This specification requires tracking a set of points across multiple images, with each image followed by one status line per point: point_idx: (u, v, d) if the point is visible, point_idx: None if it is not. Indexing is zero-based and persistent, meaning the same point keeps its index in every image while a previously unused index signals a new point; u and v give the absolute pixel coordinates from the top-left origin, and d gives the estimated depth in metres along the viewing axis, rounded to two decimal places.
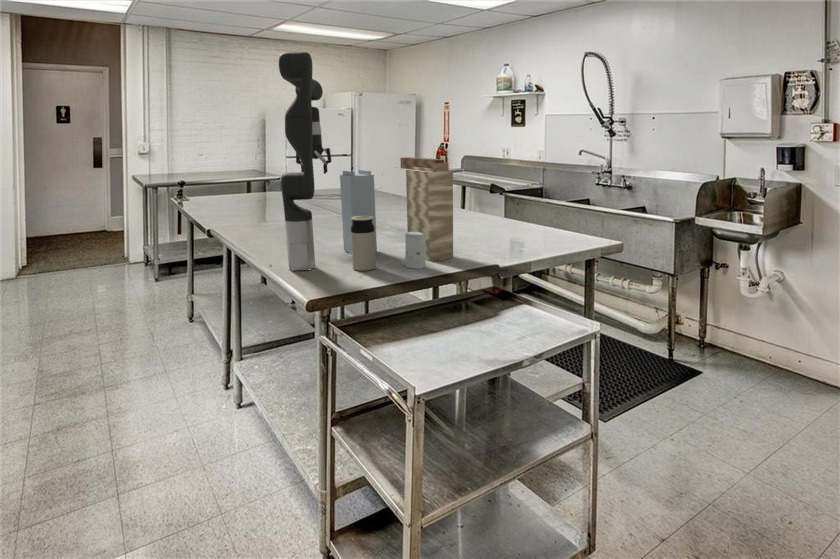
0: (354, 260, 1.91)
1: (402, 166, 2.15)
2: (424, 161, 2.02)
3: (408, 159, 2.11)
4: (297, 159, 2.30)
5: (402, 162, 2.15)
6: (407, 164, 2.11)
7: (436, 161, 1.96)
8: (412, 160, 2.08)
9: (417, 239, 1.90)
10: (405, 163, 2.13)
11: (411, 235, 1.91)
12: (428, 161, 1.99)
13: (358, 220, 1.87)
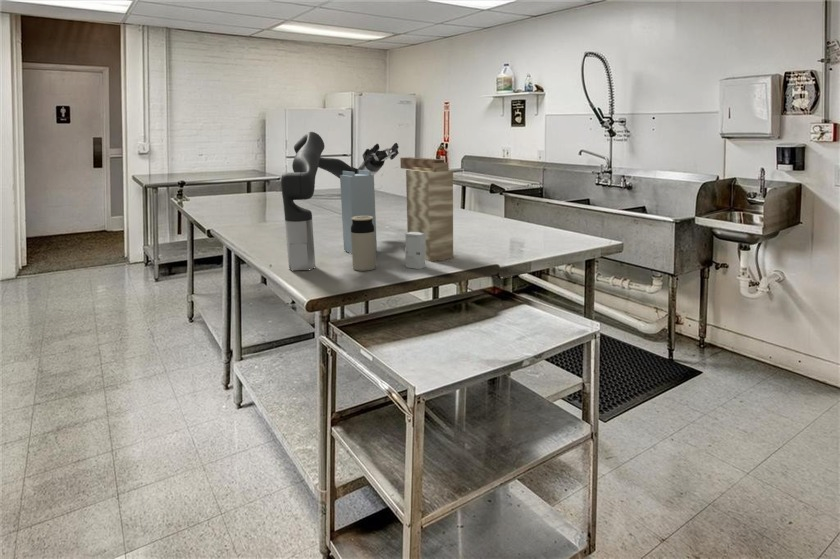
0: (354, 260, 1.91)
1: (402, 166, 2.15)
2: (424, 161, 2.02)
3: (408, 159, 2.11)
4: None
5: (402, 162, 2.15)
6: (407, 164, 2.11)
7: (436, 161, 1.96)
8: (412, 160, 2.08)
9: (417, 239, 1.90)
10: (405, 163, 2.13)
11: (411, 235, 1.91)
12: (428, 161, 1.99)
13: (358, 220, 1.87)
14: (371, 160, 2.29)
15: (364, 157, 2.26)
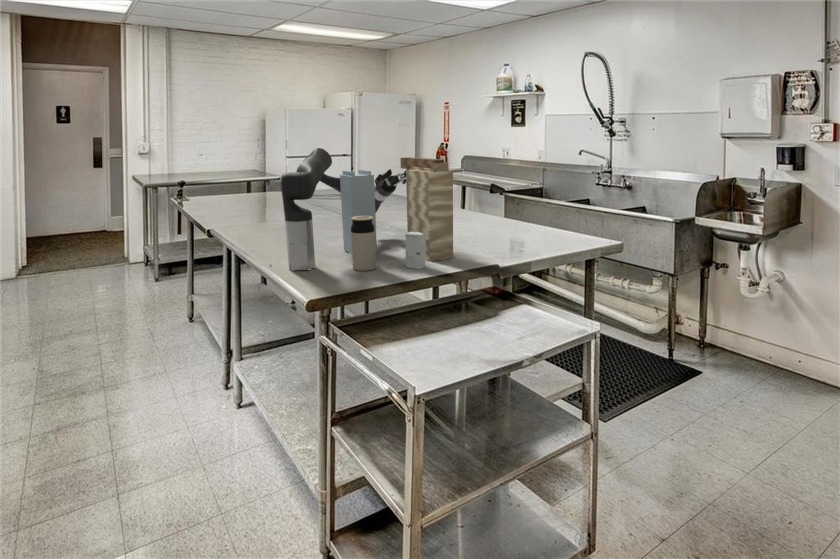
0: (354, 260, 1.91)
1: (402, 166, 2.15)
2: (424, 161, 2.02)
3: (408, 159, 2.11)
4: None
5: (402, 162, 2.15)
6: (407, 164, 2.11)
7: (436, 161, 1.96)
8: (412, 160, 2.08)
9: (417, 239, 1.90)
10: (405, 163, 2.13)
11: (411, 235, 1.91)
12: (428, 161, 1.99)
13: (358, 220, 1.87)
14: (383, 185, 2.28)
15: (376, 182, 2.25)
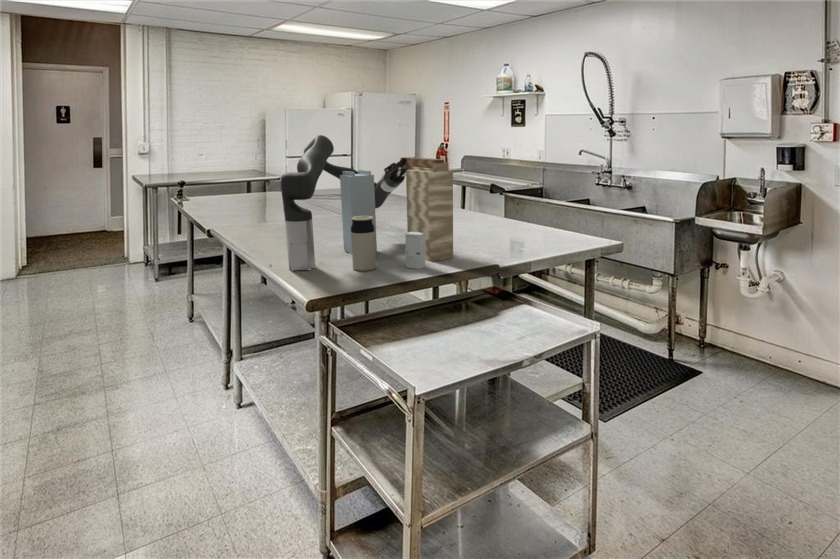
0: (354, 260, 1.91)
1: None
2: (424, 161, 2.02)
3: (408, 159, 2.11)
4: None
5: None
6: (407, 164, 2.11)
7: (436, 161, 1.96)
8: (412, 160, 2.08)
9: (417, 239, 1.90)
10: (405, 163, 2.13)
11: (411, 235, 1.91)
12: (428, 161, 1.99)
13: (358, 220, 1.87)
14: (391, 175, 2.21)
15: (387, 171, 2.17)
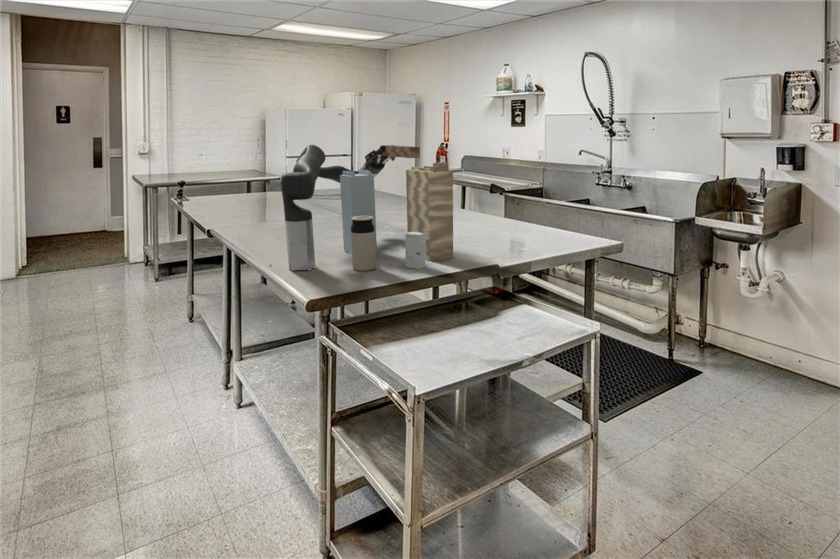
0: (354, 260, 1.91)
1: (382, 153, 2.27)
2: (401, 149, 2.14)
3: (387, 147, 2.23)
4: None
5: None
6: (386, 151, 2.24)
7: (412, 148, 2.08)
8: (390, 147, 2.20)
9: (417, 239, 1.90)
10: None
11: (411, 235, 1.91)
12: (404, 148, 2.12)
13: (358, 220, 1.87)
14: (371, 162, 2.33)
15: (368, 158, 2.29)
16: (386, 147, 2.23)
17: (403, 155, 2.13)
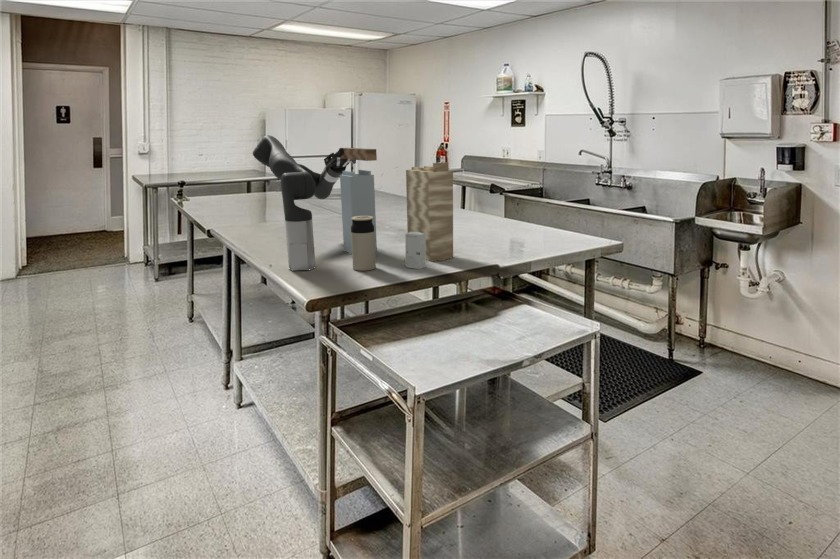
0: (354, 260, 1.91)
1: (341, 156, 2.20)
2: (358, 151, 2.06)
3: (345, 149, 2.15)
4: None
5: None
6: (345, 154, 2.16)
7: (368, 150, 2.01)
8: (348, 150, 2.13)
9: (417, 239, 1.90)
10: None
11: (411, 235, 1.91)
12: (361, 151, 2.04)
13: (358, 220, 1.87)
14: (331, 166, 2.25)
15: (326, 161, 2.22)
16: (344, 150, 2.16)
17: (360, 158, 2.05)
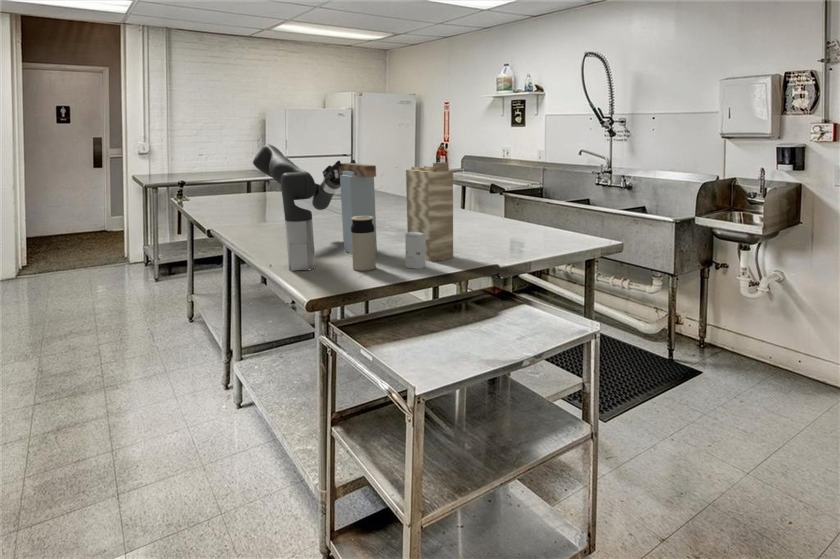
0: (354, 260, 1.91)
1: (340, 171, 2.21)
2: (357, 167, 2.08)
3: (344, 165, 2.17)
4: None
5: (340, 167, 2.21)
6: (344, 169, 2.18)
7: (367, 167, 2.02)
8: (348, 166, 2.14)
9: (417, 239, 1.90)
10: (342, 168, 2.19)
11: (411, 235, 1.91)
12: (360, 167, 2.05)
13: (358, 220, 1.87)
14: (330, 177, 2.27)
15: (325, 174, 2.23)
16: (344, 165, 2.17)
17: (359, 174, 2.07)
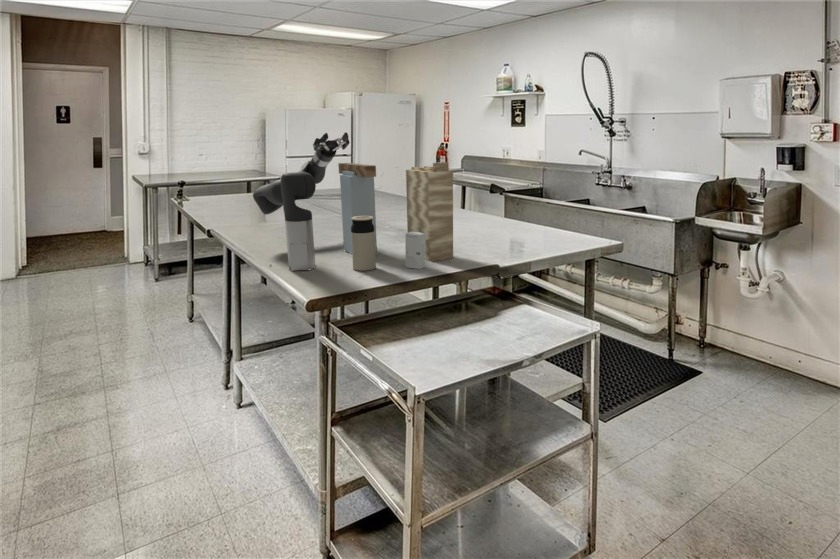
0: (354, 260, 1.91)
1: (340, 171, 2.21)
2: (357, 167, 2.08)
3: (344, 165, 2.17)
4: None
5: (340, 167, 2.21)
6: (344, 169, 2.18)
7: (367, 167, 2.02)
8: (348, 166, 2.14)
9: (417, 239, 1.90)
10: (342, 168, 2.19)
11: (411, 235, 1.91)
12: (360, 167, 2.05)
13: (358, 220, 1.87)
14: (322, 150, 2.30)
15: (314, 147, 2.26)
16: (344, 165, 2.17)
17: (359, 174, 2.07)
